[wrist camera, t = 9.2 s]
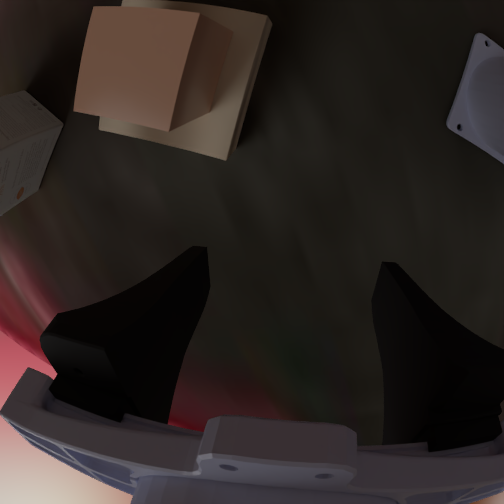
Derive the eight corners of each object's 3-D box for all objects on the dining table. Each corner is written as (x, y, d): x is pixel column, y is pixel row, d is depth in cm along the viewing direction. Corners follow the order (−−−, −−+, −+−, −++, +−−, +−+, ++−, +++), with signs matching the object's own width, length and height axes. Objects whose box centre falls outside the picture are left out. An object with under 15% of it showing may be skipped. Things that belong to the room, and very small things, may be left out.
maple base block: (273, 24, 16) (267, 15, 13) (237, 147, 21) (226, 160, 18) (147, 6, 16) (123, -1, 13) (124, 119, 21) (98, 129, 18)
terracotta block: (233, 31, 14) (200, 13, 9) (209, 112, 17) (168, 131, 12) (152, 19, 14) (93, 6, 9) (134, 95, 17) (73, 111, 12)
